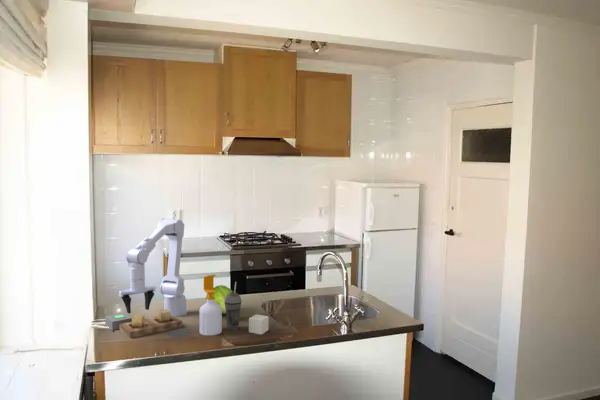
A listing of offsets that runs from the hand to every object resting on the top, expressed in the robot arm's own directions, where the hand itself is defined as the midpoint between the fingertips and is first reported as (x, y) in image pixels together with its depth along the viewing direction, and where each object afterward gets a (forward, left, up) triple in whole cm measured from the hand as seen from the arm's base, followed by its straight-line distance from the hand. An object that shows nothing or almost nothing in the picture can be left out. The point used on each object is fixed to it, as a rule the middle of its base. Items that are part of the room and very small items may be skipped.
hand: (138, 310), depth 209 cm
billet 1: (0, 0, -9) cm, 9 cm away
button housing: (+4, -12, -9) cm, 15 cm away
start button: (+4, -12, -8) cm, 15 cm away
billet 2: (-11, 0, -9) cm, 14 cm away
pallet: (-5, 0, -9) cm, 10 cm away
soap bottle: (-23, +18, -9) cm, 31 cm away
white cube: (-40, +28, -9) cm, 50 cm away
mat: (-12, +12, -9) cm, 20 cm away
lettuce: (-39, 0, -9) cm, 40 cm away
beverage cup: (-33, +19, -9) cm, 40 cm away
